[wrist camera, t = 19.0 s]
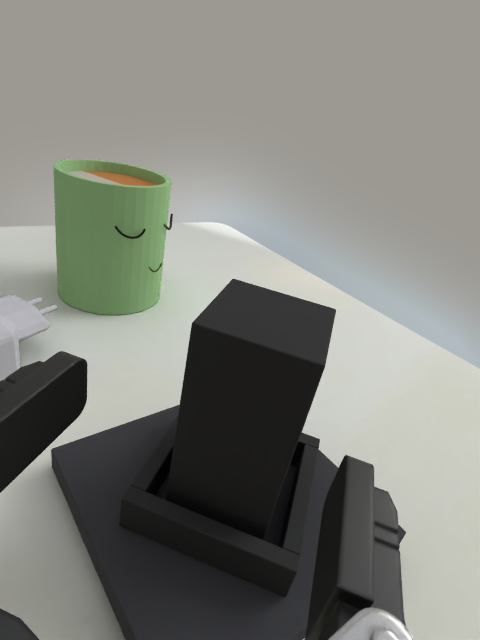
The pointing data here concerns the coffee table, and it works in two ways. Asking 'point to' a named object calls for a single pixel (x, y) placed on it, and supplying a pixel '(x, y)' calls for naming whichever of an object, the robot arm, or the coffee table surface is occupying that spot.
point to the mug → (109, 235)
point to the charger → (18, 328)
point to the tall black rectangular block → (245, 402)
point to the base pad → (191, 540)
